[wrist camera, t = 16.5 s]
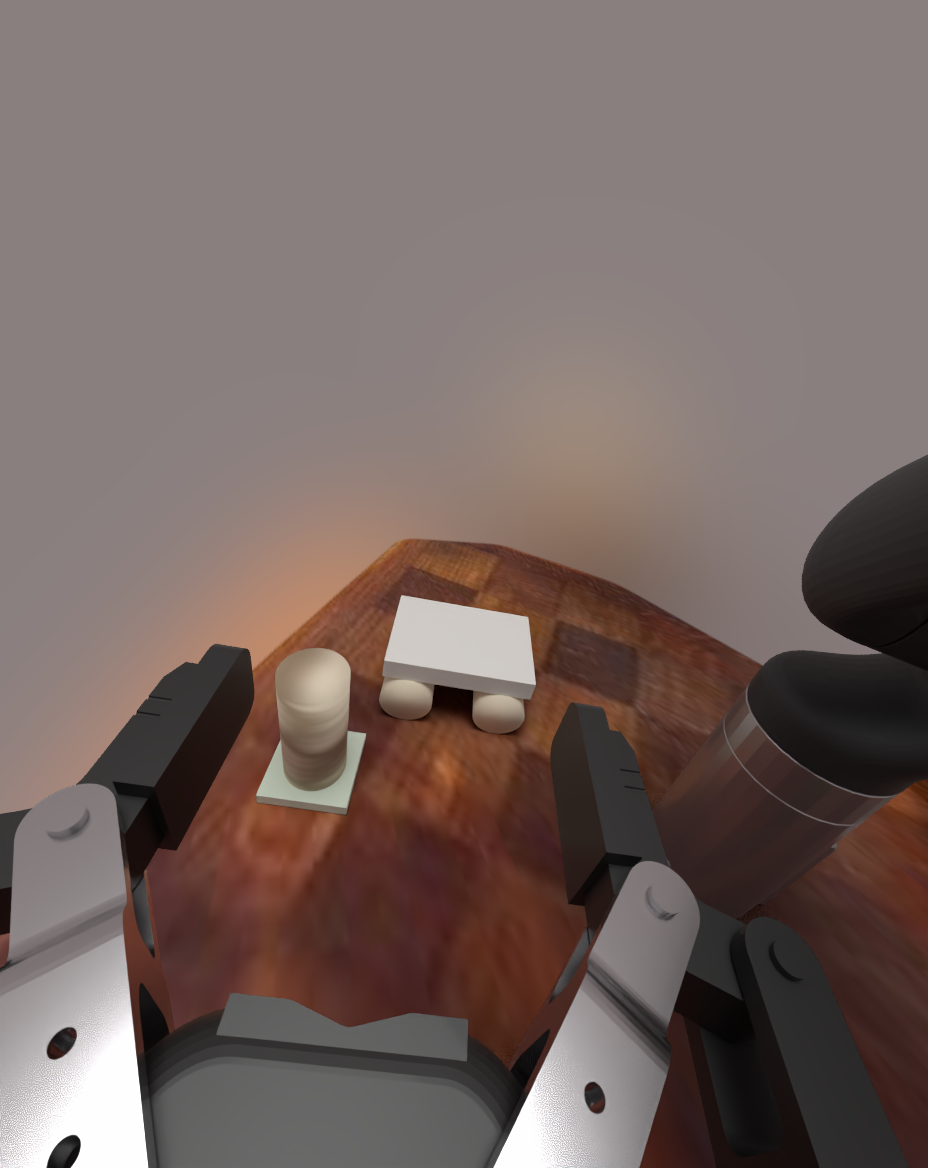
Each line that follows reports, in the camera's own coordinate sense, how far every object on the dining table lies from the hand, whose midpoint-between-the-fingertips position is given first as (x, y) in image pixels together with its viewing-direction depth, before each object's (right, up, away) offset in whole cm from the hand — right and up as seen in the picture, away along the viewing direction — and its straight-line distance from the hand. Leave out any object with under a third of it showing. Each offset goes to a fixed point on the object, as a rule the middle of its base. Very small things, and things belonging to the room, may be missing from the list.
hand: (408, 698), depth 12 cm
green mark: (-11, -13, +28) cm, 33 cm away
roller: (-11, -12, +27) cm, 32 cm away
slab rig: (0, -8, +38) cm, 39 cm away
